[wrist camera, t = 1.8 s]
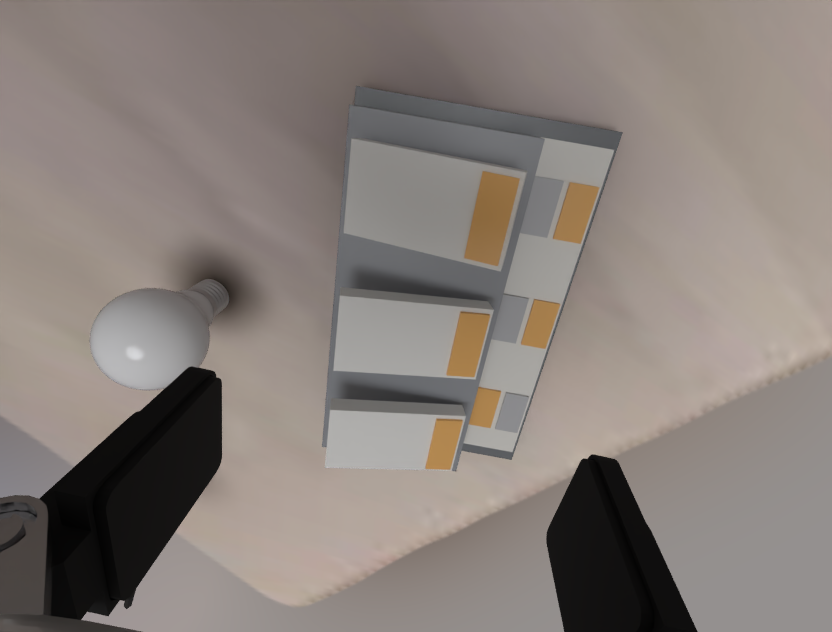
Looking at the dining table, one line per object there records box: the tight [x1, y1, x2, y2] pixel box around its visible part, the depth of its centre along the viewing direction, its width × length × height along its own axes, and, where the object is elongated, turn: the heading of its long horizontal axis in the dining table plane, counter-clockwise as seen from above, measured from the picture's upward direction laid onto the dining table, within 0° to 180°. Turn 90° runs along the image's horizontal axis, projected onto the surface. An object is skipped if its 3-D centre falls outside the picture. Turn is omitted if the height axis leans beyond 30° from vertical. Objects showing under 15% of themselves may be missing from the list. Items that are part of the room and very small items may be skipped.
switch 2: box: [333, 287, 494, 380], centre depth 26 cm, size 5×9×1 cm, turn 81°
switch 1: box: [344, 138, 527, 272], centre depth 23 cm, size 5×9×1 cm, turn 81°
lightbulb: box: [89, 279, 229, 390], centre depth 29 cm, size 6×6×11 cm
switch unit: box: [322, 86, 623, 471], centre depth 30 cm, size 26×16×5 cm, turn 171°
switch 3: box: [325, 398, 466, 471], centre depth 30 cm, size 5×9×1 cm, turn 81°
